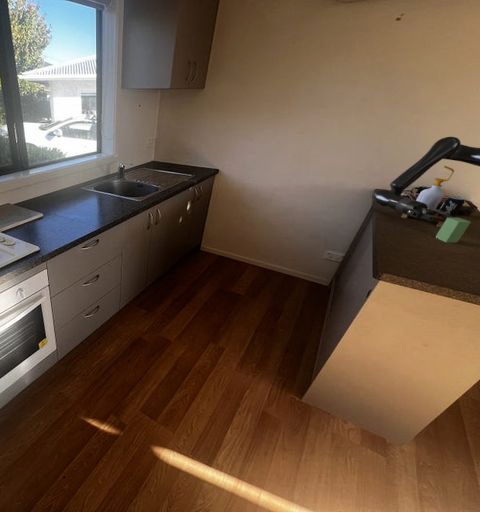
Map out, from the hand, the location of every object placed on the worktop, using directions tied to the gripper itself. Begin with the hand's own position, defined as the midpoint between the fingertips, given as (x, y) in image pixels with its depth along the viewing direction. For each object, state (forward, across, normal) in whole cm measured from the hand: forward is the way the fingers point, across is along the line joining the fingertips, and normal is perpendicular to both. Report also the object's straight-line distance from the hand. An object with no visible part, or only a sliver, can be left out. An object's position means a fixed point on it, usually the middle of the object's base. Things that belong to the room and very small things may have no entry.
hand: (442, 219), depth 133 cm
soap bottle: (-34, +26, +8) cm, 44 cm away
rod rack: (-18, +12, +8) cm, 23 cm away
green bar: (+6, 0, +8) cm, 10 cm away
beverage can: (-20, +24, +8) cm, 33 cm away
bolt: (-33, +41, +8) cm, 53 cm away
